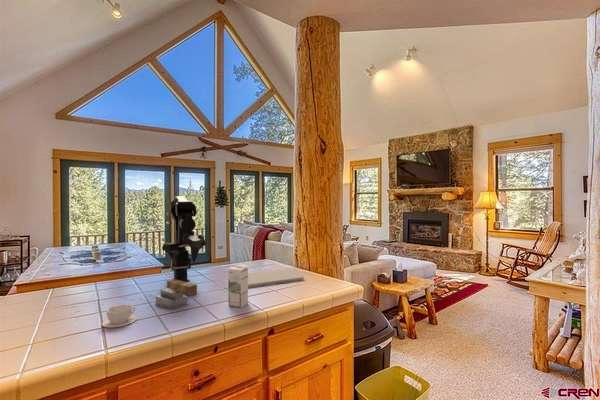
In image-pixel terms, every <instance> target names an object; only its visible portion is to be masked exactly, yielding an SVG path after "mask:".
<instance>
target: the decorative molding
mask: <svg viewBox="0 0 600 400" xmlns="http://www.w3.org/2000/svg"><path fill="white" fill-rule="evenodd" d="M304 279H305V276H304V275H303V274H302V273H301V272H300V271H299V270H298V268H296V267H291V268H281V269H273V270H266V271H265V270H264V271H255V272H248V288H255V287H261V286H262V287H263V286H270V285H275V284H282V283H291V282H297V281H303V280H304Z"/></svg>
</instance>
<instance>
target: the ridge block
mask: <svg viewBox="0 0 600 400" xmlns="http://www.w3.org/2000/svg"><path fill="white" fill-rule="evenodd" d="M155 305H158V306H161V307H162V308H166V309H169V310H173V309H175V308H179V307H182V306H186V305H188V295H185V294H183V292H180V291H176V290H173V289H170V288H167V287H166V288H162V289H160V295H156V296H155Z"/></svg>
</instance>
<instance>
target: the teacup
mask: <svg viewBox="0 0 600 400" xmlns="http://www.w3.org/2000/svg"><path fill="white" fill-rule="evenodd" d="M135 311H136V307H135V306H133V305H131V304H118V305H114V306H111V307H109V308H107V309H106V317H107V319H106V320H104V321H103V322H102V323H101V326H102V327H104V328H109V329H110V328H119V327H124V326H127V325H130V324H132V323H134V322H135V321H137V319H138V317H137V316H135V315H134V313H135Z"/></svg>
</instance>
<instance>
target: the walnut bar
mask: <svg viewBox="0 0 600 400" xmlns="http://www.w3.org/2000/svg"><path fill="white" fill-rule="evenodd" d="M166 288H170V289H173V290H176V291H180V292H183V295H185V296H187V297H188V296H189V295H190V296H192V295H197V294H198V285H197V284H195V283H191V282H189V281H187V282H185V281H181V280H177V279H174V278H173V279H169V280H166Z"/></svg>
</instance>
